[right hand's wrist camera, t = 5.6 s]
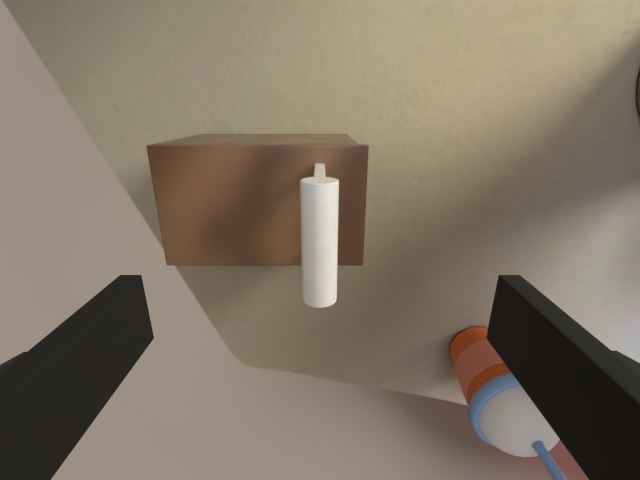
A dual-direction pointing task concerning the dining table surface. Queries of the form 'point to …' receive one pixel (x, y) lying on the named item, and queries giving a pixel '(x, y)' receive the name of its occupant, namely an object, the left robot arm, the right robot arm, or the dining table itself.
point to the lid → (264, 207)
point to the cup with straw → (500, 401)
